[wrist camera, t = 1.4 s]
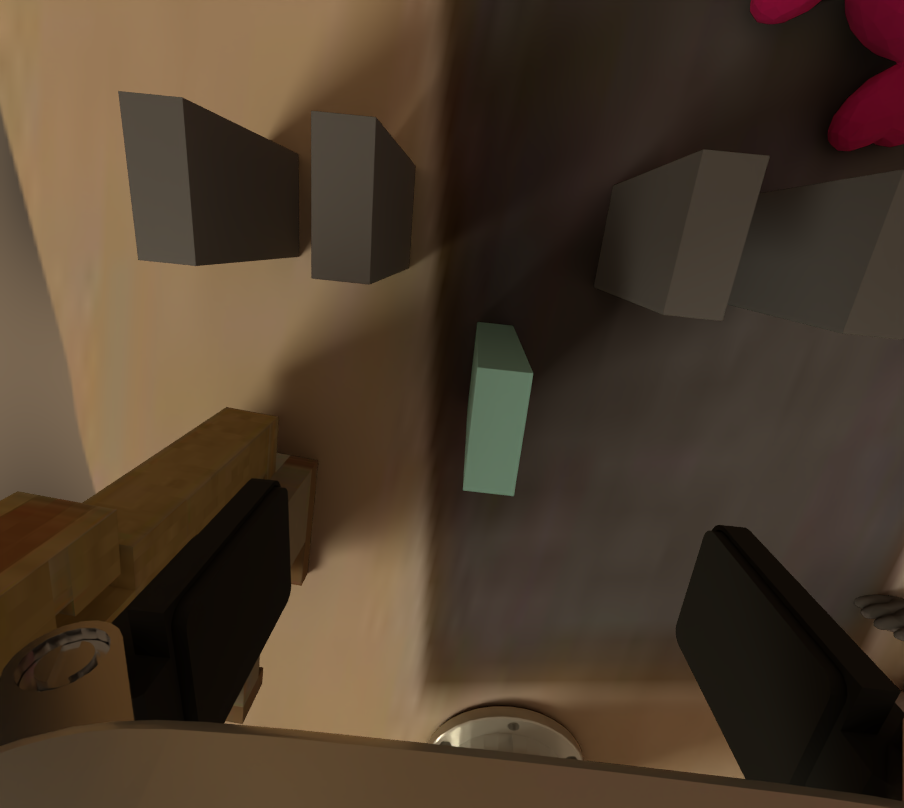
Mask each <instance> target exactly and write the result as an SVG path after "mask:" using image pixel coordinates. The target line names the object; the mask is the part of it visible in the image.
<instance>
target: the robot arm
mask: <svg viewBox="0 0 904 808" xmlns="http://www.w3.org/2000/svg"><path fill="white" fill-rule="evenodd" d="M290 591H291V565H290V537H289V508H288V491H287V489H286V488H282V487H281V485H280V483H279V481H277V480H267V479H257V478H251V479H250V480H249V481H248V482H247V483H246V484H245V485H244V486H243V487H242V488H241V489H240V490H239V491H238V492H237V493H236V495H235V496H234V497H233V498H232V499H231V500H230V501H229V502H228V503H227V504H226V505H225V506H224V507H223V508H222V509H221V510H220V511H219V512H218V514H217V515H216V516H215V517H214V518H213V519H212V520H211V521H210V522H209V523H208V524H207V525H206V526H205V527H204V528H203V529H202V530H201V531H200V533H199V534H197V535H196V536H194V537H193V538H192V539H191V540H190V541H189V542H188V543H187V544H186V545H185V546H184V547H183V548H182V549H181V550H180V551H179V552H178V553H177V555H176V556H175V557H174V558H173V559H172V560H171V561H170V562H169V563H168V564H167V565H166V566H165V567H164V568H163V569H162V570H161V571H160V572H159V573H158V574H157V575H156V577H155V578H154V579H153V580H152V581H151V582H150V583H149V584H148V585H147V586H146V587H145V588H144V589H143V590H142V591H141V592H140V593H139V594H138V595H137V596H136V597H135V599H134V600H133V601H132V602H131V603H130V604H129V605H128V606H127V607H126V608H125V609H124V610H123V611H122V612H121V613H120V614H119V615H118V616H117V617H116V618H115V620H114V621H113V622H112V623H109V622H104V621H98V620H96V621H81V622H77V623H73V624H69V625H65V626H62V627H60V628H57V629H55V630H53V631H50V632H48V633H46V634H44V635H42V636H40V637H39V638H37V639H35V640H34V641H32V642H30V643H29V644H27V645H26V646H25V647H24V648H22V649H21V650H20V651H19V652H18V653H16V654H15V655H14V656H13V657H12V659H11V660H10V661H9V662H8V663H7V665H6V666H5V667H4V669H3V671H2V674H1V676H0V808H904V712H903V711H902V709H901V708H900V707H899V706H898V705H897V704H896V703H895V702H896V700H897V698H898V696H899V694H900V692H901V691H900V690H899V689H898V688H897V687H896V686H895V685H894V684H893V682H892V681H891V680H890V679H889V678H888V677H887V676H886V675H885V674H884V673H883V672H882V671H881V670H880V669H879V668H878V667H877V665H876V664H875V663H874V662H873V661H872V660H871V659H870V658H869V657H868V656H867V655H866V654H865V653H864V652H863V651H862V650H861V648H860V647H859V646H858V645H857V644H856V643H855V642H854V641H853V640H852V639H851V638H850V637H849V636H848V635H847V634H846V632H845V631H844V630H843V629H842V628H841V627H840V626H839V625H838V624H837V623H836V622H835V621H834V620H833V619H832V618H831V617H830V615H829V614H828V613H827V612H826V611H825V610H824V609H823V608H822V607H821V606H820V605H819V604H818V603H817V602H816V601H815V599H814V598H813V597H812V596H811V595H810V594H809V593H808V592H807V591H806V590H805V589H804V588H803V587H802V586H801V585H800V584H799V582H798V581H797V580H796V579H795V578H794V577H793V576H792V575H791V574H790V573H789V572H788V571H787V570H786V569H785V568H784V567H783V565H782V564H781V563H780V562H779V561H778V560H777V559H776V558H775V557H774V556H773V555H772V554H771V553H770V552H769V551H768V549H767V548H766V547H765V546H764V545H763V544H762V543H761V542H760V541H759V540H758V539H757V538H756V537H755V536H754V535H753V534H752V532H751V531H750V530H748V529H747V528H743V527H734V526H724V525H717V526H715V527H714V528H713V529H712V531H707V532H706V533H705V535H704V537H703V541H702V544H701V547H700V550H699V554H698V557H697V560H696V563H695V566H694V570H693V573H692V576H691V579H690V583H689V586H688V589H687V592H686V595H685V599H684V602H683V605H682V608H681V612H680V615H679V618H678V621H677V625H676V638H677V642H678V644H679V647H680V649H681V651H682V653H683V655H684V657H685V659H686V661H687V663H688V665H689V667H690V669H691V671H692V673H693V675H694V677H695V679H696V681H697V683H698V685H699V687H700V689H701V691H702V693H703V695H704V697H705V699H706V701H707V703H708V705H709V707H710V709H711V711H712V713H713V715H714V717H715V719H716V721H717V723H718V725H719V727H720V729H721V731H722V733H723V735H724V737H725V739H726V741H727V743H728V745H729V747H730V749H731V751H732V753H733V755H734V757H735V759H736V761H737V763H738V765H739V767H740V769H741V771H742V773H743V775H744V777H745V779H740V778H731V777H723V776H714V775H706V774H697V773H688V772H680V771H671V770H663V769H654V768H646V767H637V766H628V765H620V764H611V763H602V762H593V761H584V759H583V755H582V752H581V748H580V746H579V745H578V743H577V741H576V740H575V738H574V737H573V736H572V735H571V734H570V732H569V731H568V730H567V729H566V728H564V727H563V726H562V725H560V724H559V723H557V722H556V721H555V720H553V719H551V718H549V717H547V716H545V715H542V714H540V713H537V712H534V711H531V710H528V709H523V708H517V707H510V706H492V707H485V708H478V709H474V710H471V711H467V712H464V713H462V714H460V715H458V716H456V717H453V718H451V719H450V720H448V721H447V722H446V723H444V724H443V725H441V726H440V727H439V728H438V729H437V730H436V731H435V733H434V734H433V735H432V736H431V738H430V740H429V741H428V743H419V742H410V741H400V740H390V739H381V738H371V737H362V736H352V735H342V734H333V733H323V732H314V731H304V730H293V729H282V728H270V727H258V726H247V725H235V724H224V722H225V721H226V719H227V717H228V715H229V713H230V711H231V709H232V707H233V705H234V703H235V701H236V699H237V698H238V696H239V694H240V692H241V690H242V688H243V686H244V684H245V682H246V680H247V678H248V676H249V675H250V673H251V671H252V669H253V667H254V665H255V663H256V661H257V659H258V657H259V655H260V654H261V652H262V650H263V648H264V646H265V644H266V642H267V640H268V638H269V636H270V634H271V632H272V631H273V629H274V627H275V625H276V623H277V621H278V619H279V617H280V615H281V613H282V611H283V610H284V608H285V606H286V604H287V602H288V599H289V596H290Z"/></svg>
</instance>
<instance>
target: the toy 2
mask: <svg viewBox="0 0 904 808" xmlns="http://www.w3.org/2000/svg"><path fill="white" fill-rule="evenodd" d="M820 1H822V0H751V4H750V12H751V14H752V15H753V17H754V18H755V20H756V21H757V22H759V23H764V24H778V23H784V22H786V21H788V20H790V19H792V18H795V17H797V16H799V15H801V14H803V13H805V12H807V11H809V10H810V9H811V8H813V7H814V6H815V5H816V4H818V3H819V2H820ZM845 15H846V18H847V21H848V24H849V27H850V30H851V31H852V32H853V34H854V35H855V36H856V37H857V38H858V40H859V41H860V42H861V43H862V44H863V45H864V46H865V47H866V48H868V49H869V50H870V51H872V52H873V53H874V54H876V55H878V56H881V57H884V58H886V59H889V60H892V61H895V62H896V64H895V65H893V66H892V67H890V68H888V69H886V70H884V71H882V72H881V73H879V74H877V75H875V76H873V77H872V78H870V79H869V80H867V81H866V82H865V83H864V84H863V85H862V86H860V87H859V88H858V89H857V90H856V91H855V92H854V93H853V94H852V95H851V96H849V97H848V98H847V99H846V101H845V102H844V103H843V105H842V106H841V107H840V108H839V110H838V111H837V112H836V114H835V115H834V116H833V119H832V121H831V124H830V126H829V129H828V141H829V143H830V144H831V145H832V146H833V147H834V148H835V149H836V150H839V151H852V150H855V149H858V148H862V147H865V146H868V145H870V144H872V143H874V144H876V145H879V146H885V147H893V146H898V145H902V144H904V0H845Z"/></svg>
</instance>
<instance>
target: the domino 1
mask: <svg viewBox="0 0 904 808" xmlns="http://www.w3.org/2000/svg"><path fill="white" fill-rule="evenodd" d="M118 93H119V101H120V110H121V118H122V127H123V135H124V143H125V152H126V160H127V169H128V177H129V186H130V194H131V202H132V211H133V219H134V228H135V236H136V244H137V253H138V260H144V261H154V262H163V263H173V264H182V265H192V266H200V265H212V264H223V263H234V262H245V261H256V260H268V259H279V258H290V257H299V169H298V154H297V153H295V152H293V151H291V150H289V149H287V148H285V147H283V146H281V145H279V144H277V143H275V142H272V141H270V140H268V139H266V138H264V137H262V136H260V135H258V134H256V133H254V132H252V131H250V130H248V129H246V128H244V127H242V126H240V125H238V124H236V123H234V122H231V121H229V120H227V119H225V118H223V117H221V116H219V115H217V114H215V113H213V112H211V111H209V110H207V109H205V108H203V107H201V106H199V105H197V104H195V103H193V102H191V101H188V100H186V99H184V98H182V97H172V96H162V95H152V94H142V93H132V92H122V91H118Z"/></svg>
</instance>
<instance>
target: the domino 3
mask: <svg viewBox="0 0 904 808" xmlns="http://www.w3.org/2000/svg"><path fill="white" fill-rule="evenodd" d="M532 379H533V371H532V369H531V367H530V364H529V362H528V360H527V357H526V355H525V353H524V350H523V348H522V346H521V343H520V341H519V338H518V336H517V334H516V331H515V329H514V327H513V326H512V325H502V324H493V323H483V322H477V329H476V338H475V346H474V355H473V364H472V372H471V381H470V390H469V399H468V409H467V427H466V445H465V463H464V481H463V490H464V491H473V492H482V493H491V494H500V495H509V496H514V491H515V485H516V479H517V473H518V466H519V460H520V454H521V448H522V441H523V435H524V429H525V423H526V416H527V410H528V404H529V398H530V391H531V385H532Z"/></svg>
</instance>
